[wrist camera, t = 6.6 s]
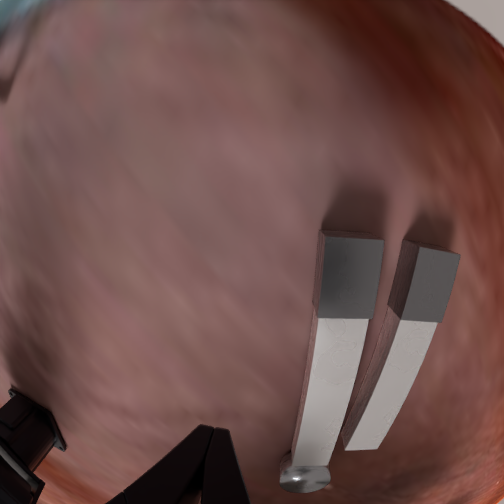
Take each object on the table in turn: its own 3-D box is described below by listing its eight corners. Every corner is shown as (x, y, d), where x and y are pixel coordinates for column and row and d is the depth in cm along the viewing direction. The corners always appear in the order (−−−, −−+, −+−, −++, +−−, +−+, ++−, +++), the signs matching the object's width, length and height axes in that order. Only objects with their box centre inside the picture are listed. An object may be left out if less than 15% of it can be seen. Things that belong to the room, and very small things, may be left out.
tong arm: (323, 473, 17) (325, 492, 15) (277, 473, 18) (277, 492, 16) (379, 233, 13) (394, 240, 11) (308, 229, 14) (313, 236, 12)
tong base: (372, 431, 16) (379, 450, 14) (339, 432, 17) (343, 452, 15) (441, 246, 13) (460, 254, 11) (402, 239, 14) (419, 246, 12)
